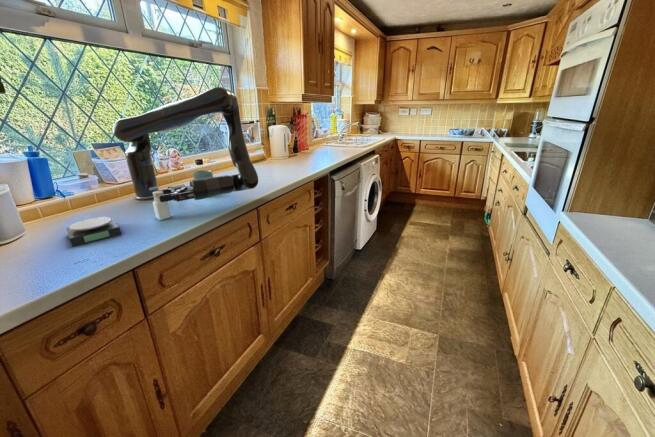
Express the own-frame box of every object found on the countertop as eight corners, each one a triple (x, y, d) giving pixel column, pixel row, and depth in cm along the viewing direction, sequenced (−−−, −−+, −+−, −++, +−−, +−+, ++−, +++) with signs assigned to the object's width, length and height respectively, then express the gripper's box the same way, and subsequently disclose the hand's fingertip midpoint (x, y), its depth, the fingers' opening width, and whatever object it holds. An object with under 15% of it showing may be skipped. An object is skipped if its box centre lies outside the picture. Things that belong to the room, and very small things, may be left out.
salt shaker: (160, 220, 104) (153, 194, 100) (155, 218, 106) (149, 192, 103) (172, 217, 106) (166, 191, 103) (167, 215, 109) (161, 189, 106)
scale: (68, 235, 94) (64, 223, 93) (113, 224, 102) (110, 213, 100) (72, 247, 85) (67, 234, 84) (121, 234, 93) (118, 222, 92)
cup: (209, 196, 132) (205, 173, 128) (193, 195, 133) (189, 173, 130) (218, 191, 139) (215, 169, 135) (203, 191, 140) (199, 169, 137)
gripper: (198, 175, 116) (151, 182, 107) (210, 181, 106) (158, 189, 97) (201, 194, 119) (156, 202, 110) (213, 201, 108) (164, 211, 99)
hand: (157, 196), depth 103 cm, fingers open, 8 cm apart
